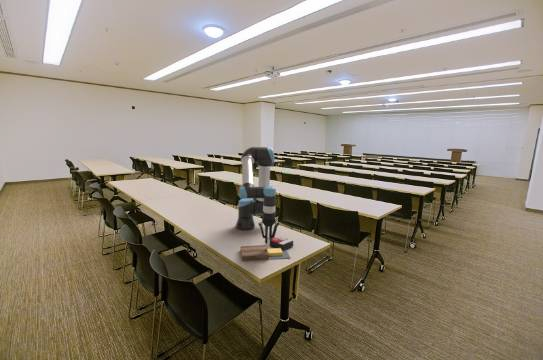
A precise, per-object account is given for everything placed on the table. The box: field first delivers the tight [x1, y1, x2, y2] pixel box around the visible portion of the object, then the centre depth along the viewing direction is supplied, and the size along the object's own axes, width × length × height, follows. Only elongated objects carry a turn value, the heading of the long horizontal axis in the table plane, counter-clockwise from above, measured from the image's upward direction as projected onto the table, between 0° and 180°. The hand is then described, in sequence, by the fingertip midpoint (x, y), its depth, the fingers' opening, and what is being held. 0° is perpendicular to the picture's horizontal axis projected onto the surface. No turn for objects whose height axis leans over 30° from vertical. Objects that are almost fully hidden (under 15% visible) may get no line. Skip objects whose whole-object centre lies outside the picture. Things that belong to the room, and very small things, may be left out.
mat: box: [269, 247, 291, 261], centre depth 161 cm, size 14×13×1 cm
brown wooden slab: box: [240, 244, 270, 262], centre depth 158 cm, size 14×16×3 cm
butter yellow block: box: [267, 247, 283, 256], centre depth 161 cm, size 6×9×2 cm, turn 100°
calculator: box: [270, 235, 294, 250], centre depth 174 cm, size 11×4×15 cm
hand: (267, 248), depth 160 cm, fingers closed
